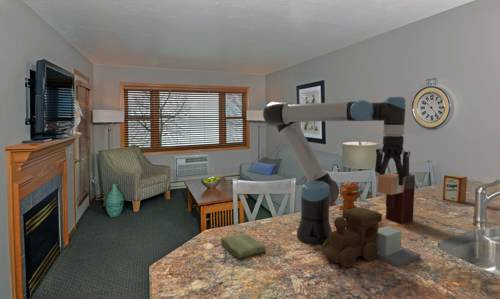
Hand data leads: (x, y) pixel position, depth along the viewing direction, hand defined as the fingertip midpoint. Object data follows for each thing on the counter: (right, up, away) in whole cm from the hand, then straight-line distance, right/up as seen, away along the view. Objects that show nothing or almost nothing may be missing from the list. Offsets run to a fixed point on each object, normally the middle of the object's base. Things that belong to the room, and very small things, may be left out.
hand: (390, 191), depth 119 cm
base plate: (-7, -22, -10) cm, 25 cm away
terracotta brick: (0, 0, 0) cm, 0 cm away
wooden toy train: (-22, -23, -14) cm, 34 cm away
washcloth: (-61, -22, -5) cm, 66 cm away
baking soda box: (+68, -15, +58) cm, 91 cm away
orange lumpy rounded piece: (-5, -18, +34) cm, 39 cm away
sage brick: (-7, -20, -11) cm, 24 cm away
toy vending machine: (+16, -19, +25) cm, 35 cm away
